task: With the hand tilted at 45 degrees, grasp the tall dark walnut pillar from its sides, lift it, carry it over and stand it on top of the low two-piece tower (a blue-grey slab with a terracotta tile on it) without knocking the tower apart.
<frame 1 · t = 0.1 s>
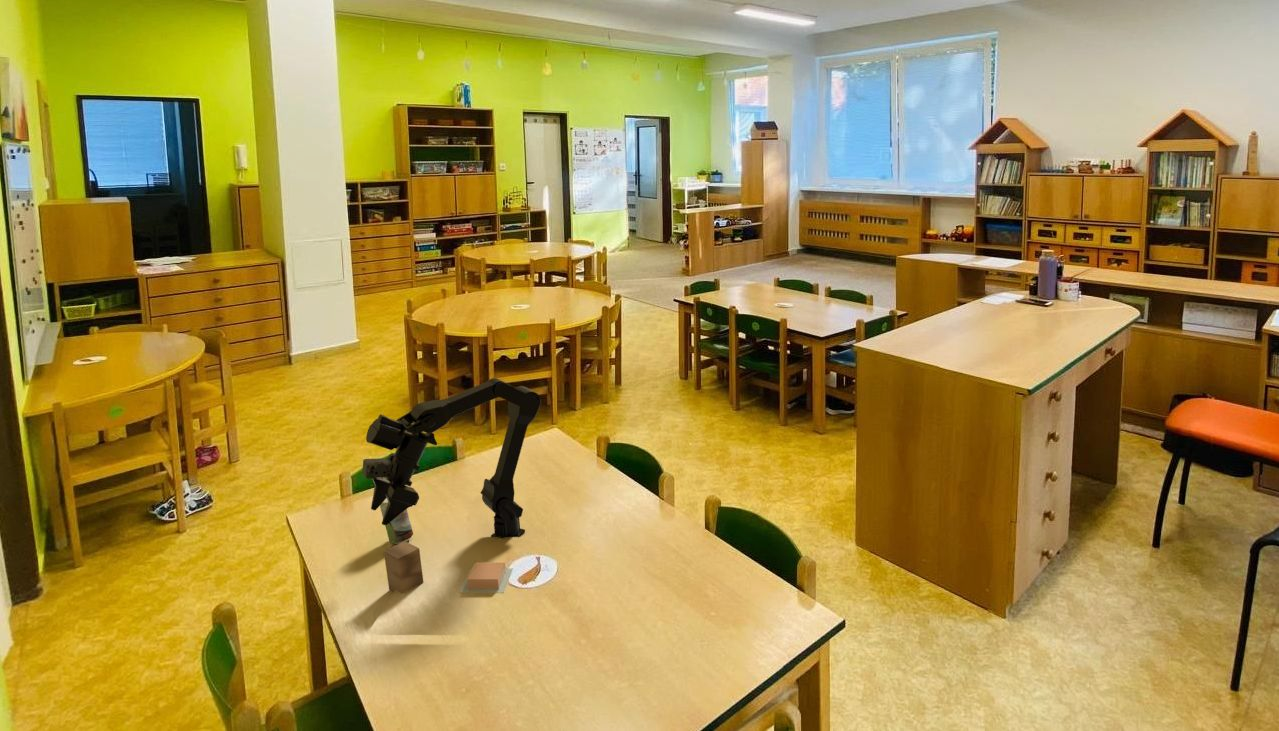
hand: (378, 517, 177), 15 cm above the table, tool tilted 35°, fingers open, 9 cm apart
beverage can: (399, 540, 197), on the table
walnut pillar: (406, 588, 175), on the table
blue-grey slab: (487, 588, 175), on the table, touching terracotta tile
terracotta tile: (487, 580, 175), point 1 cm above the table, touching blue-grey slab
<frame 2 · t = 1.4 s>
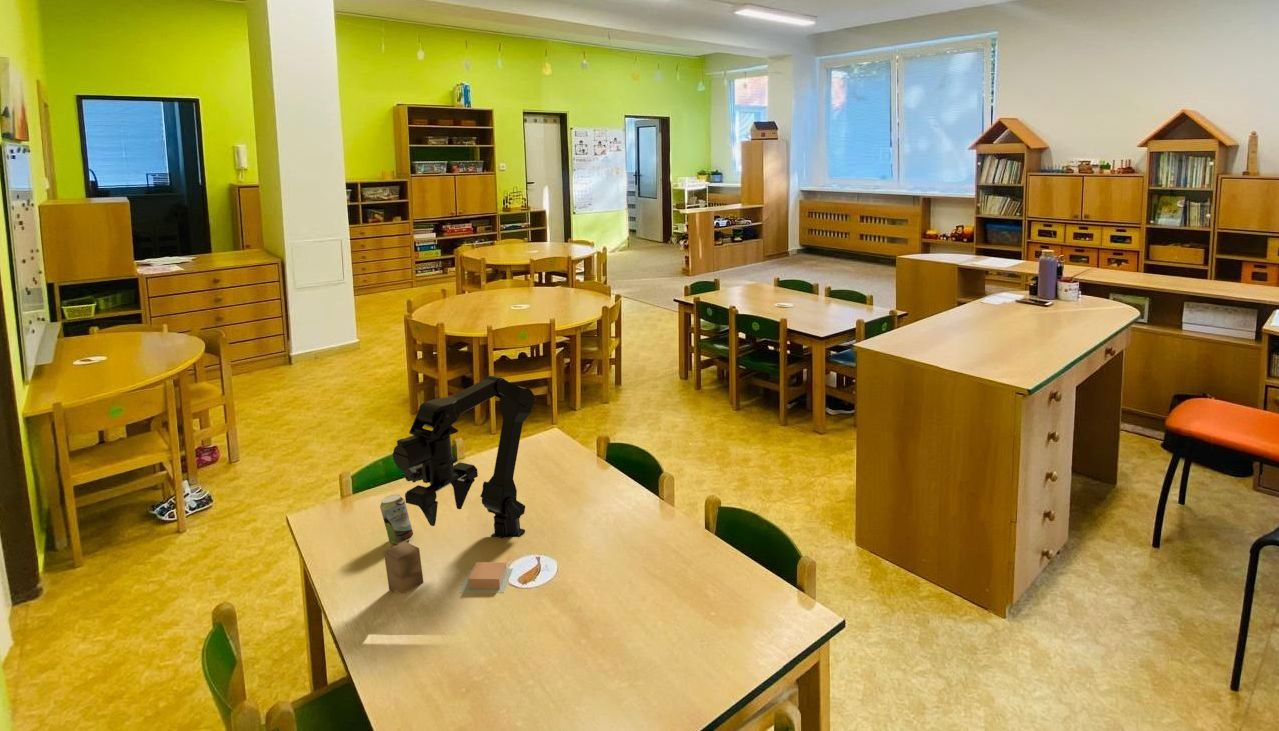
hand: (446, 517, 180), 13 cm above the table, tool pointing down, fingers open, 9 cm apart
nothing on the table moved.
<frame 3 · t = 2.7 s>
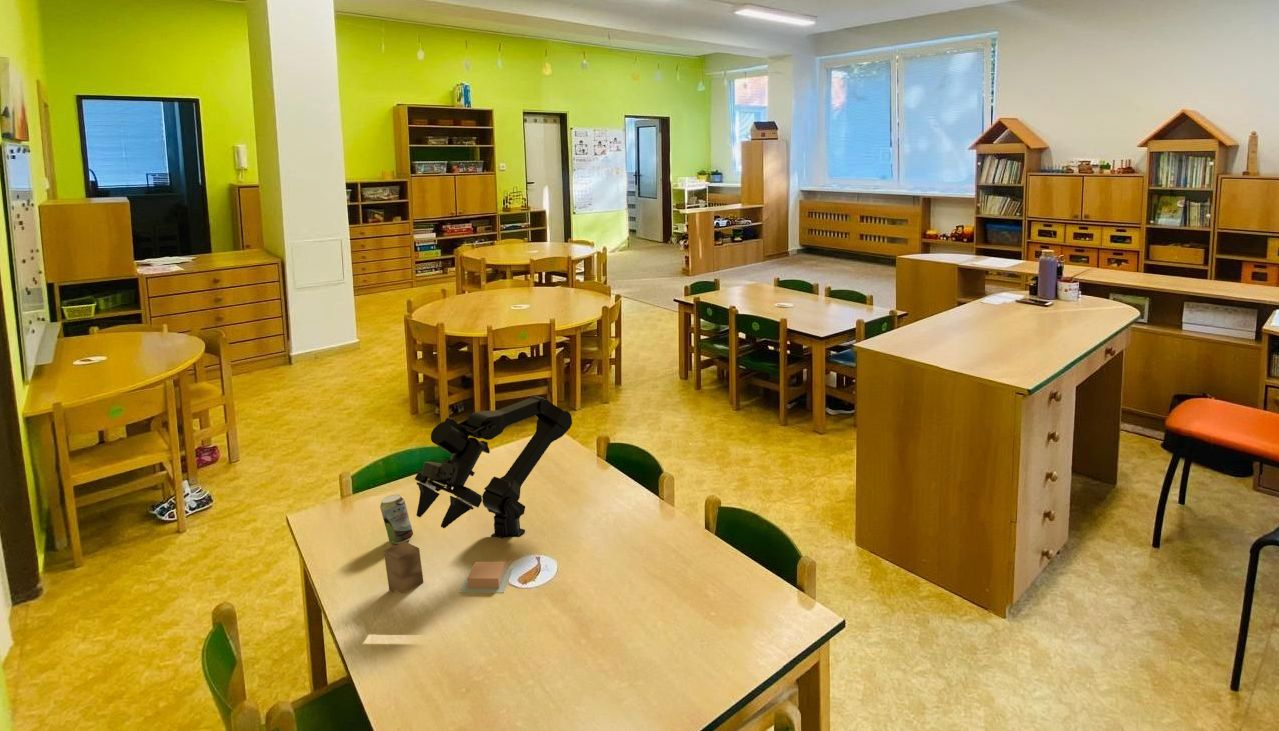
hand: (430, 522, 177), 13 cm above the table, tool tilted 45°, fingers open, 9 cm apart
nothing on the table moved.
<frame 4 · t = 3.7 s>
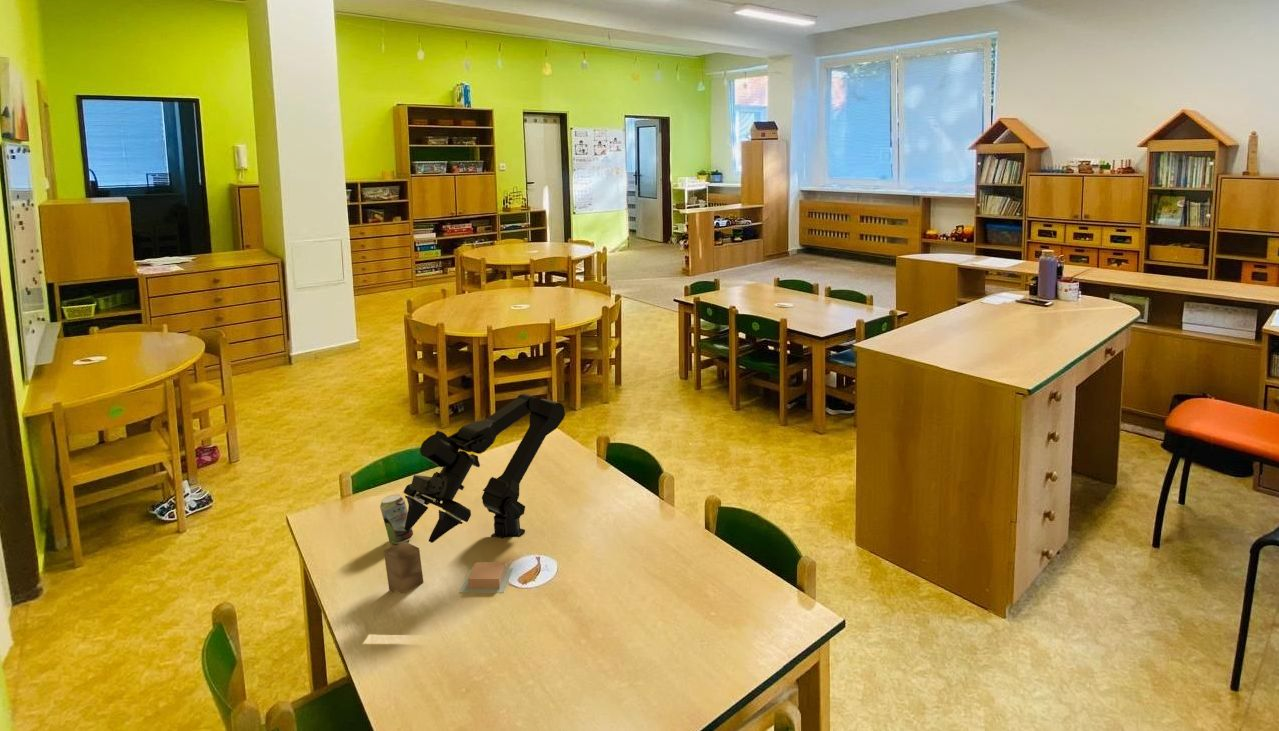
hand: (417, 536, 175), 11 cm above the table, tool tilted 45°, fingers open, 9 cm apart
nothing on the table moved.
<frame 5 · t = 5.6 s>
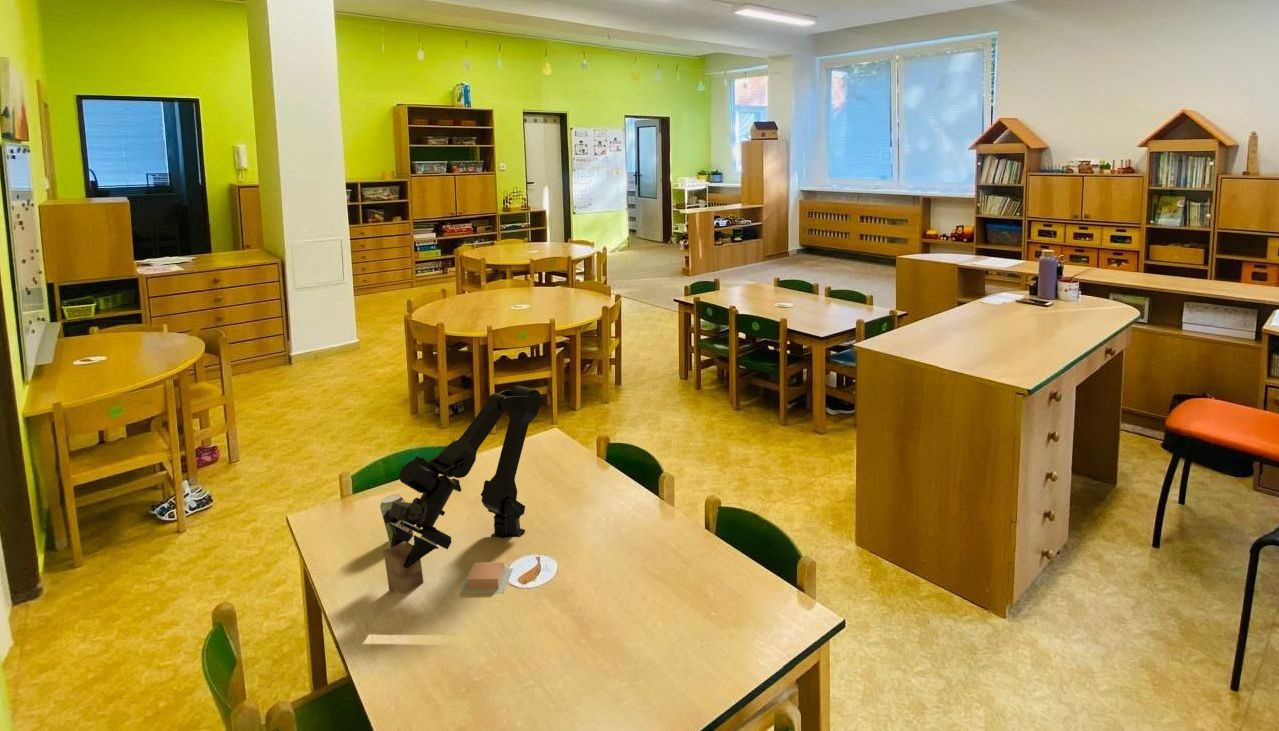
hand: (397, 563, 172), 7 cm above the table, tool tilted 45°, fingers closed on walnut pillar, 5 cm apart
walnut pillar: (406, 588, 175), on the table, touching gripper
everything else where it was.
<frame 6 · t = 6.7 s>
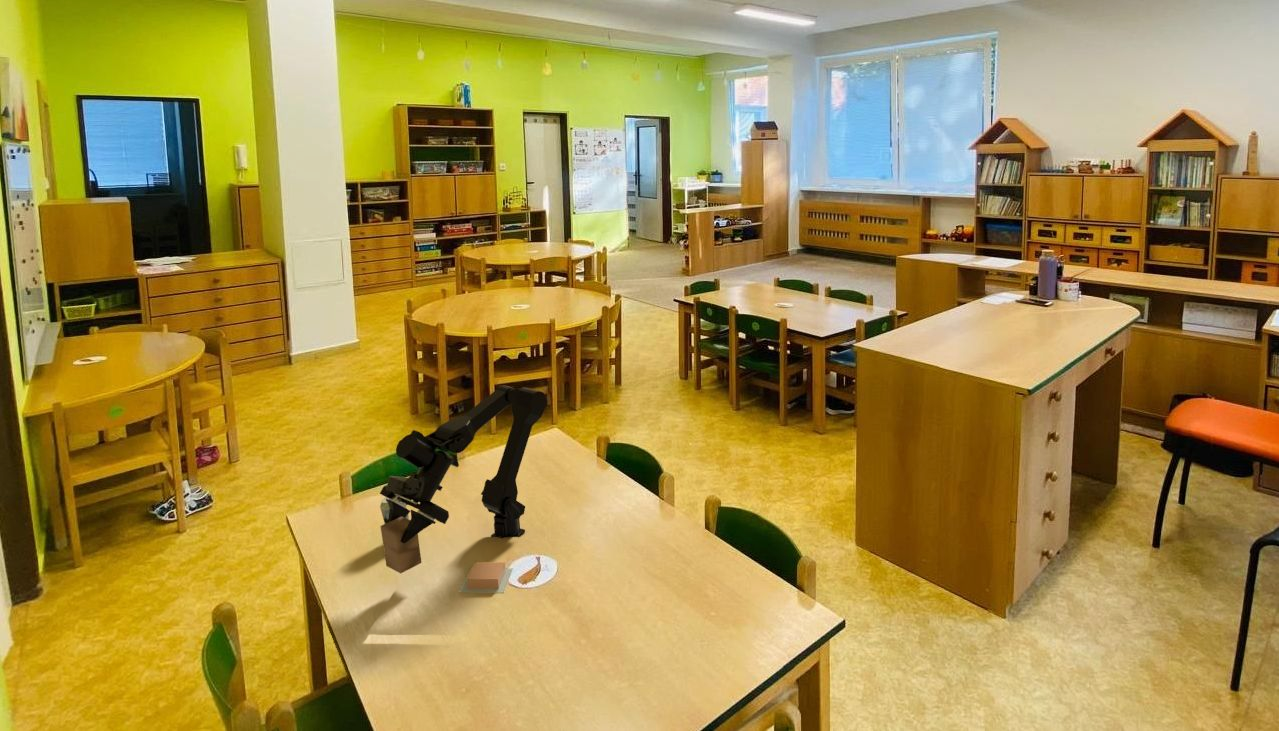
hand: (394, 538, 170), 13 cm above the table, tool tilted 45°, fingers closed on walnut pillar, 5 cm apart
walnut pillar: (403, 564, 173), point 6 cm above the table, touching gripper
everything else where it was.
when the fingers open (13 cm above the table, at t = 8.6 s): walnut pillar drops 2 cm, resting on terracotta tile.
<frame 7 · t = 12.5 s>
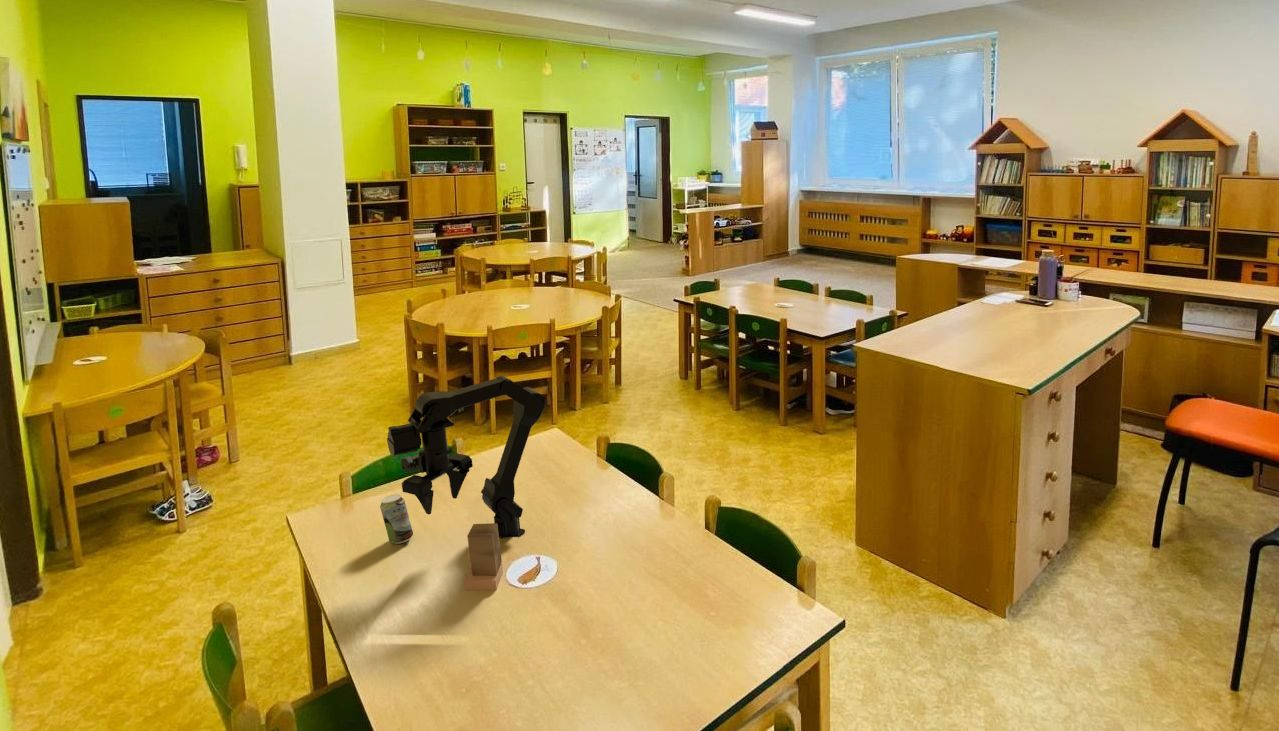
hand: (441, 505, 186), 13 cm above the table, tool pointing down, fingers open, 9 cm apart
walnut pillar: (487, 568, 175), point 4 cm above the table, touching terracotta tile
terracotta tile: (484, 581, 174), point 1 cm above the table, touching blue-grey slab, walnut pillar
everything else where it was.
at the end: walnut pillar 1.3 cm from the terracotta tile (horizontally); walnut pillar point 3.7 cm above the table; walnut pillar tilted 1° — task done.
